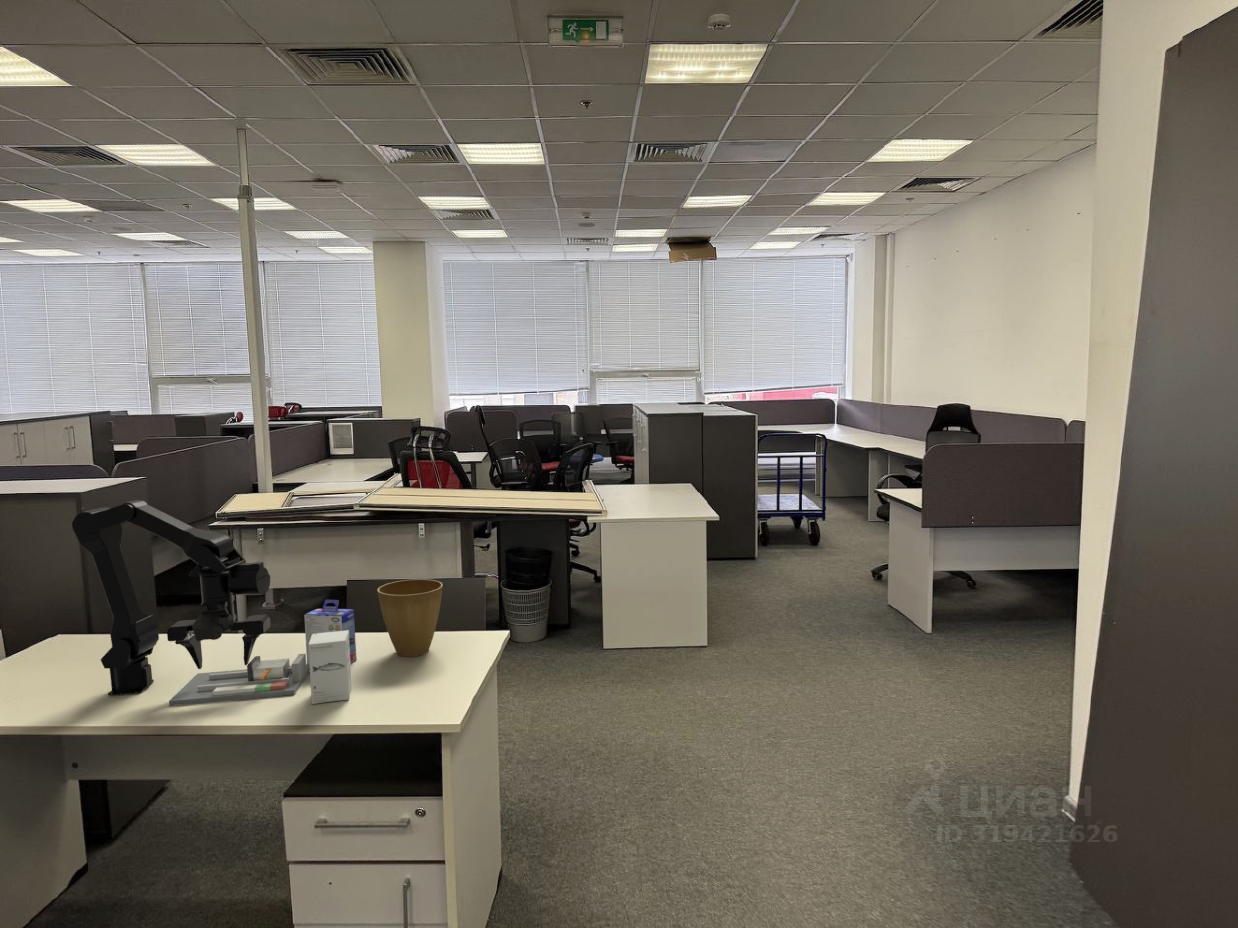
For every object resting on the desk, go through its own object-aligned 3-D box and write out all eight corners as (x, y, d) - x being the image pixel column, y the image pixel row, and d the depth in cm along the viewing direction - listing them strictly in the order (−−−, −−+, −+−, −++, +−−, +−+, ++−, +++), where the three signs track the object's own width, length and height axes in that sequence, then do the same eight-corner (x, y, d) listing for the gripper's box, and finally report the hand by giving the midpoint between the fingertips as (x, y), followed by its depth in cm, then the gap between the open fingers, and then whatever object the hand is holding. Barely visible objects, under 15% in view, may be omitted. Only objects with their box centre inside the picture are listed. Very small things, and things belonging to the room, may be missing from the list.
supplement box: (311, 705, 149) (306, 644, 147) (315, 691, 156) (311, 632, 155) (350, 700, 151) (346, 639, 149) (352, 686, 158) (349, 628, 157)
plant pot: (417, 666, 168) (413, 597, 167) (367, 657, 175) (363, 591, 173) (458, 645, 182) (455, 581, 180) (411, 637, 188) (407, 576, 186)
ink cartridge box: (358, 659, 174) (354, 598, 172) (345, 668, 169) (341, 605, 167) (320, 657, 176) (316, 597, 174) (306, 666, 171) (301, 604, 169)
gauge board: (169, 705, 150) (167, 681, 150) (198, 677, 165) (196, 655, 165) (294, 694, 154) (292, 671, 154) (311, 667, 169) (310, 646, 169)
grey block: (242, 691, 153) (240, 672, 153) (256, 673, 163) (255, 656, 162) (278, 687, 155) (276, 669, 154) (290, 671, 164) (289, 653, 163)
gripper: (152, 609, 148) (159, 685, 149) (252, 602, 151) (258, 676, 152) (175, 594, 159) (182, 665, 160) (268, 588, 162) (274, 657, 163)
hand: (223, 666), depth 159 cm, fingers open, 9 cm apart
